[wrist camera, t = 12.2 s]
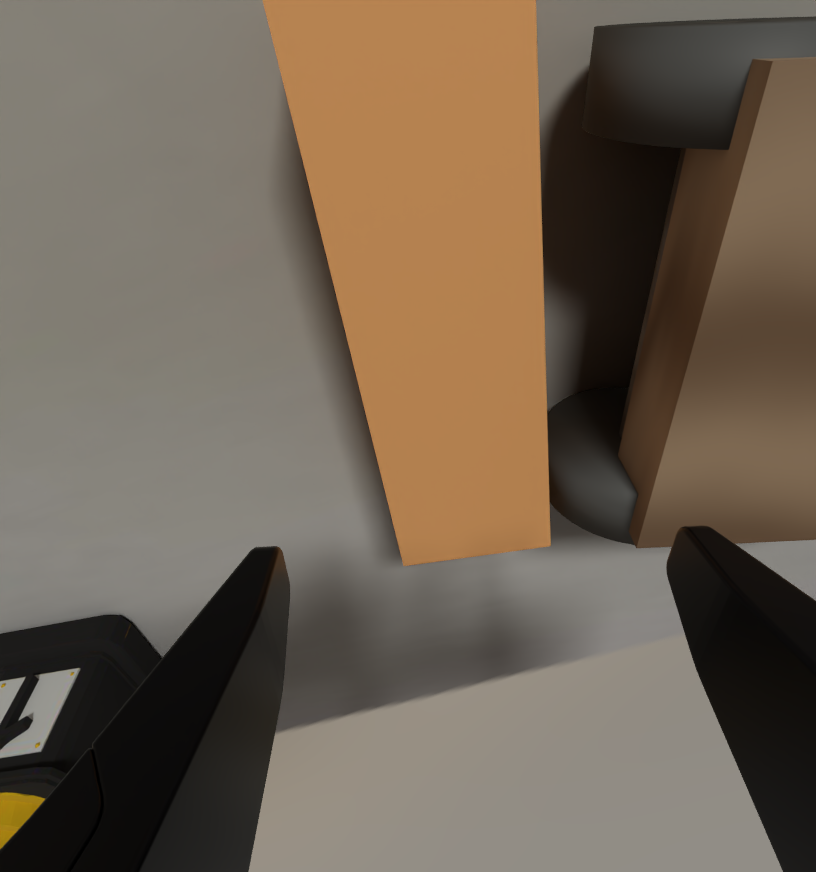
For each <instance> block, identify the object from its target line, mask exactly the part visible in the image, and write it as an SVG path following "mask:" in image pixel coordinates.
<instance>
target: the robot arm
mask: <svg viewBox="0 0 816 872" xmlns="http://www.w3.org/2000/svg"><path fill="white" fill-rule="evenodd" d="M666 568H667V576H668V580H669V583H670V587H671V590H672V593H673V596H674V600H675V603H676V606H677V609H678V613H679V616H680V619H681V622H682V626H683V629H684V632H685V636H686V639H687V642H688V645H689V648H690V652H691V655H692V658H693V661H694V664H695V667H696V670H697V672H698V674H699V677H700V679H701V682H702V684H703V687H704V689H705V691H706V694H707V696H708V698H709V701H710V703H711V705H712V708H713V710H714V712H715V715H716V717H717V719H718V722H719V724H720V726H721V728H722V731H723V733H724V735H725V738H726V740H727V743H728V745H729V747H730V749H731V752H732V754H733V756H734V758H735V761H736V763H737V766H738V768H739V770H740V773H741V775H742V777H743V780H744V782H745V784H746V786H747V789H748V791H749V794H750V796H751V798H752V800H753V803H754V805H755V808H756V810H757V812H758V814H759V817H760V819H761V821H762V824H763V826H764V828H765V830H766V833H767V835H768V838H769V840H770V842H771V845H772V847H773V849H774V852H775V854H776V856H777V858H778V861H779V863H780V866H781V868H782V870H783V872H816V601H815V600H814V599H812V598H811V597H810V596H808V595H807V594H805V593H804V592H802V591H801V590H800V589H798V588H797V587H795V586H794V585H792V584H791V583H790V582H788V581H787V580H785V579H784V578H783V577H781V576H780V575H778V574H777V573H775V572H774V571H773V570H771V569H770V568H768V567H767V566H765V565H764V564H763V563H761V562H760V561H758V560H757V559H756V558H754V557H753V556H751V555H750V554H748V553H747V552H746V551H744V550H743V549H741V548H740V547H738V546H737V545H736V544H734V543H733V542H731V541H730V540H729V539H727V538H726V537H724V536H723V535H721V534H720V533H719V532H717V531H716V530H714V529H713V528H711V527H709V526H705V525H700V526H684V527H681V528H680V529H679V530H678V531H677V533H676V536H675V539H674V542H673V545H672V548H671V551H670V554H669V557H668V560H667V567H666ZM289 603H290V583H289V578H288V573H287V569H286V565H285V561H284V556H283V552H282V550H281V549H280V548H279V547H277V546H271V547H256V548H254V549H252V550H251V551H250V552H249V553H248V555H247V556H246V557H245V558H244V559H243V561H242V562H241V563H240V564H239V566H238V567H237V568H236V569H235V570H234V572H233V573H232V574H231V575H230V576H229V578H228V579H227V580H226V581H225V583H224V584H223V585H222V586H221V587H220V589H219V590H218V591H217V592H216V594H215V595H214V596H213V597H212V598H211V600H210V601H209V602H208V603H207V604H206V606H205V607H204V608H203V609H202V611H201V612H200V613H199V614H198V615H197V617H196V618H195V619H194V620H193V621H192V623H191V624H190V625H189V626H188V628H187V629H186V630H185V631H184V632H183V634H182V635H181V636H180V637H179V639H178V640H177V641H176V642H175V643H174V645H173V646H172V647H171V648H170V649H169V651H168V652H167V653H166V654H165V656H164V657H163V658H162V659H161V660H160V662H159V663H158V664H157V665H156V666H155V668H154V669H153V670H152V671H151V673H150V674H149V675H148V676H147V677H146V679H145V680H144V681H143V682H142V684H141V685H140V686H139V687H138V688H137V690H136V691H135V692H134V693H133V694H132V696H131V697H130V698H129V699H128V701H127V702H126V703H125V704H124V705H123V707H122V708H121V709H120V710H119V711H118V713H117V714H116V715H115V716H114V718H113V719H112V720H111V721H110V722H109V724H108V725H107V726H106V727H105V729H104V730H103V731H102V732H101V733H100V735H99V736H98V737H97V738H96V739H95V741H94V742H93V744H92V748H93V749H87V750H86V751H85V752H84V754H83V755H82V756H81V757H80V759H79V760H78V761H77V762H76V763H75V765H74V766H73V767H72V768H71V770H70V771H69V772H68V773H67V774H66V776H65V777H64V778H63V779H62V780H61V781H60V783H59V784H58V785H57V786H56V787H55V788H54V790H53V791H52V792H51V793H50V794H49V795H48V797H47V798H46V799H45V800H44V801H43V802H42V804H41V805H40V806H39V807H38V808H37V809H36V811H35V812H34V813H33V814H32V815H31V816H30V818H29V819H28V820H27V821H26V822H25V823H24V824H23V825H22V826H21V827H20V828H19V830H18V831H17V832H16V833H15V834H14V835H13V836H12V837H11V838H10V839H9V840H8V841H7V842H6V844H5V845H4V846H3V847H2V848H1V849H0V872H248V870H249V866H250V860H251V854H252V850H253V845H254V840H255V834H256V829H257V824H258V819H259V813H260V808H261V803H262V798H263V793H264V787H265V782H266V777H267V771H268V766H269V761H270V756H271V750H272V745H273V740H274V735H275V730H276V725H277V719H278V714H279V709H280V703H281V697H282V691H283V681H284V671H285V657H286V644H287V630H288V616H289Z"/></svg>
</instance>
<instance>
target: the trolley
mask: <svg viewBox="0 0 816 872" xmlns="http://www.w3.org/2000/svg"><path fill="white" fill-rule="evenodd" d="M582 127H583V129H584V130H585V131H587V132H589V133H591V134H593V135H597V136H600V137H604V138H608V139H612V140H618V141H623V142H629V143H636V144H644V145H653V146H663V147H675V148H681V151H680V156H679V160H678V165H677V170H676V174H675V179H674V183H673V188H672V193H671V197H670V202H669V206H668V211H667V215H666V220H665V225H664V229H663V234H662V238H661V243H660V248H659V252H658V257H657V261H656V266H655V270H654V275H653V280H652V284H651V289H650V293H649V298H648V302H647V307H646V312H645V316H644V321H643V325H642V330H641V335H640V339H639V344H638V348H637V353H636V357H635V362H634V367H633V371H632V376H631V380H630V385H629V388H601V389H594V390H588V391H584V392H580V393H577V394H575V395H572V396H570V397H568V398H566V399H564V400H562V401H561V402H559V403H558V404H557V405H556V406H555V407H553V408H552V410H551V411H550V412H549V414H548V416H547V430H548V466H549V502H550V503H551V504H552V505H553V507H554V508H555V509H556V510H557V511H558V512H560V513H561V514H562V515H563V516H564V517H566V518H567V519H568V520H570V521H571V522H572V523H574V524H576V525H578V526H579V527H581V528H583V529H585V530H587V531H589V532H591V533H593V534H596V535H599V536H601V537H604V538H607V539H610V540H614V541H618V542H622V543H628V544H633V545H635V546H636V548H651V547H671V546H672V545H673V542H674V539H675V536H676V533H677V531H678V530H679V529H680V528H681V527H684V526H700V525H705V526H709V527H711V528H713V529H714V530H716V531H717V532H719V533H720V534H721V535H723V536H724V537H726V538H727V539H729V540H730V541H731V542H733V543H755V542H776V541H796V540H816V17H785V18H752V19H723V20H697V21H674V22H653V23H635V24H618V25H605V26H597V27H594V35H593V43H592V51H591V59H590V67H589V75H588V83H587V91H586V99H585V107H584V115H583V123H582Z"/></svg>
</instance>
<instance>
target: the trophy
mask: <svg viewBox="0 0 816 872" xmlns="http://www.w3.org/2000/svg"><path fill="white" fill-rule="evenodd" d="M160 660H161V659H160V657H159V656H158V655H157V654H156V653H155V651H154V650H153V649H152V648H151V647H150V645H149V644H148V643H147V642H146V641H145V639H144V638H143V637H142V636H141V634H140V633H139V632H138V631H137V630H136V628H135V627H134V626H133V625H132V624H131V623H130V622H129V621H127V620H126V619H124V618H123V617H121V616H113V615H103V616H98V617H92V618H87V619H81V620H76V621H70V622H64V623H59V624H53V625H48V626H42V627H37V628H31V629H26V630H20V631H14V632H9V633H3V634H0V849H1V848H2V847H3V846H4V845H5V844H6V842H7V841H8V840H9V839H10V838H11V837H12V836H13V835H14V834H15V833H16V832H17V831H18V830H19V828H20V827H21V826H22V825H23V824H24V823H25V822H26V821H27V820H28V819H29V818H30V816H31V815H32V814H33V813H34V812H35V811H36V809H37V808H38V807H39V806H40V805H41V804H42V802H43V801H44V800H45V799H46V798H47V797H48V795H49V794H50V793H51V792H52V791H53V790H54V788H55V787H56V786H57V785H58V784H59V783H60V781H61V780H62V779H63V778H64V777H65V776H66V774H67V773H68V772H69V771H70V770H71V768H72V767H73V766H74V765H75V763H76V762H77V761H78V760H79V759H80V757H81V756H82V755H83V754H84V752H85V751H86V750H87V749H93V748H92V744H93V742H94V741H95V739H96V738H97V737H98V736H99V735H100V733H101V732H102V731H103V730H104V729H105V727H106V726H107V725H108V724H109V722H110V721H111V720H112V719H113V718H114V716H115V715H116V714H117V713H118V711H119V710H120V709H121V708H122V707H123V705H124V704H125V703H126V702H127V701H128V699H129V698H130V697H131V696H132V694H133V693H134V692H135V691H136V690H137V688H138V687H139V686H140V685H141V684H142V682H143V681H144V680H145V679H146V677H147V676H148V675H149V674H150V673H151V671H152V670H153V669H154V668H155V666H156V665H157V664H158V663H159V662H160Z"/></svg>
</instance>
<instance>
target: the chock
mask: <svg viewBox="0 0 816 872" xmlns="http://www.w3.org/2000/svg"><path fill="white" fill-rule="evenodd" d="M263 4H264V8H265V12H266V16H267V20H268V24H269V28H270V32H271V36H272V40H273V44H274V48H275V52H276V56H277V60H278V64H279V68H280V72H281V76H282V80H283V84H284V88H285V92H286V96H287V100H288V104H289V108H290V112H291V116H292V120H293V124H294V128H295V132H296V136H297V140H298V144H299V148H300V152H301V156H302V160H303V164H304V168H305V172H306V176H307V180H308V184H309V188H310V192H311V196H312V200H313V204H314V208H315V212H316V216H317V220H318V224H319V228H320V232H321V236H322V240H323V244H324V248H325V252H326V256H327V260H328V264H329V268H330V272H331V276H332V280H333V284H334V289H335V293H336V297H337V301H338V305H339V309H340V313H341V317H342V321H343V325H344V329H345V333H346V337H347V341H348V345H349V349H350V353H351V357H352V361H353V365H354V369H355V373H356V377H357V381H358V385H359V389H360V393H361V397H362V401H363V405H364V409H365V413H366V417H367V421H368V425H369V429H370V433H371V437H372V441H373V445H374V449H375V453H376V457H377V461H378V465H379V469H380V473H381V477H382V481H383V485H384V489H385V493H386V497H387V501H388V505H389V509H390V513H391V517H392V521H393V525H394V529H395V533H396V537H397V541H398V545H399V549H400V553H401V557H402V561H403V565H404V566H408V565H416V564H423V563H430V562H438V561H445V560H452V559H460V558H467V557H474V556H482V555H489V554H496V553H504V552H511V551H518V550H526V549H533V548H540V547H548V546H551V540H550V503H549V466H548V430H547V393H546V356H545V319H544V282H543V245H542V208H541V171H540V134H539V97H538V61H537V24H536V0H263Z"/></svg>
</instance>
